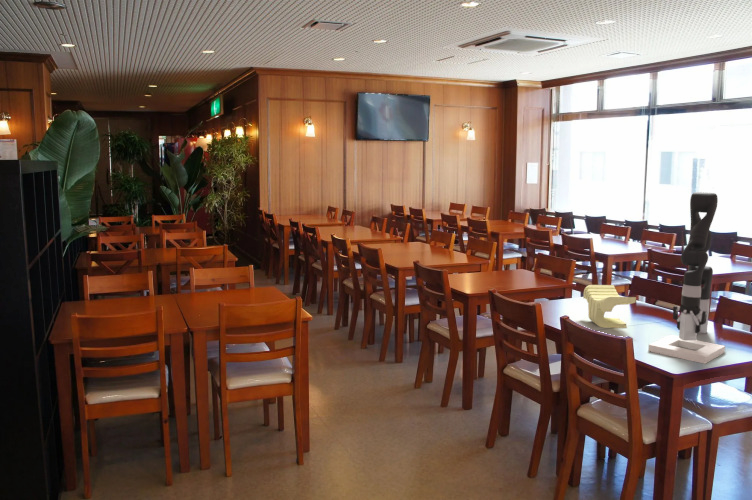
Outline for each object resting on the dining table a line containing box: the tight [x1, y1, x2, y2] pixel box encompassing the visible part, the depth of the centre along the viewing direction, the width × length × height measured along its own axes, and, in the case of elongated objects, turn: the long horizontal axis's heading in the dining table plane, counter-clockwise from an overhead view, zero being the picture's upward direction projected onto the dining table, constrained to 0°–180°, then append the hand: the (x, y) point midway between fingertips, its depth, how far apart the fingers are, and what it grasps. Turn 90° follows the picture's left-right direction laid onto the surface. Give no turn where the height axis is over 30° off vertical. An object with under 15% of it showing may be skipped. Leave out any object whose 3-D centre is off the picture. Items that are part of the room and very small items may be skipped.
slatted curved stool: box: [583, 284, 637, 329], centre depth 333 cm, size 30×16×18 cm, turn 0°
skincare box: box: [678, 311, 698, 341], centre depth 286 cm, size 6×4×12 cm
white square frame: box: [647, 334, 726, 364], centre depth 288 cm, size 24×24×3 cm
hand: (688, 331), depth 287 cm, fingers closed on skincare box, 7 cm apart
